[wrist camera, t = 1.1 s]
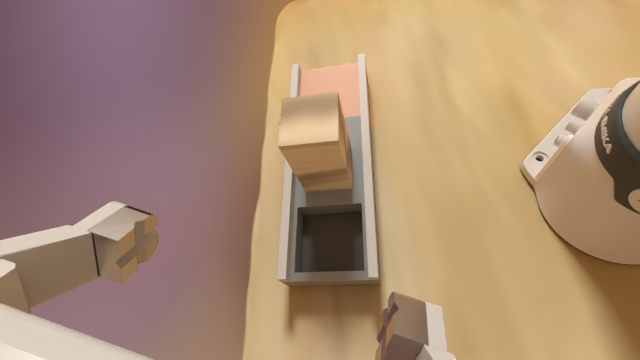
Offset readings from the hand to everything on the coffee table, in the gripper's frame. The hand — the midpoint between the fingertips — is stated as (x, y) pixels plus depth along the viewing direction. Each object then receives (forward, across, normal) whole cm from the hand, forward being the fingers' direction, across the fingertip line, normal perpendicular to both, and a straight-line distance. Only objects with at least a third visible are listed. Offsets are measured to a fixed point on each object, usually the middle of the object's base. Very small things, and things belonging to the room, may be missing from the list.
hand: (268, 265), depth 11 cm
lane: (+34, +1, +12) cm, 36 cm away
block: (+30, +2, +11) cm, 33 cm away
